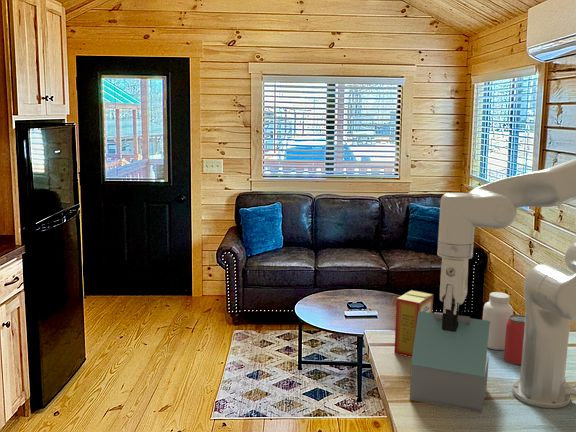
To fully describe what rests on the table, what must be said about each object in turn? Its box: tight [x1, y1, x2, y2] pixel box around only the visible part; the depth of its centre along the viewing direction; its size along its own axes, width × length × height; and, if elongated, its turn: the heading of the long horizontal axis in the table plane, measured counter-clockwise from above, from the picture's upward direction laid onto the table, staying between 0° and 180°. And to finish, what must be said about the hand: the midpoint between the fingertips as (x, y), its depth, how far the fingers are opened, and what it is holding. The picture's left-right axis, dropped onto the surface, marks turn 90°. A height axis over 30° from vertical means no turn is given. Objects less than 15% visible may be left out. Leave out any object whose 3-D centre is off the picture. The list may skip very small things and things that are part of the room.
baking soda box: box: [394, 289, 434, 358], centre depth 167 cm, size 10×6×16 cm
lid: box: [410, 311, 490, 377], centre depth 136 cm, size 16×12×5 cm
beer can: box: [503, 314, 525, 366], centre depth 161 cm, size 7×7×12 cm
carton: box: [409, 355, 490, 414], centre depth 142 cm, size 16×12×9 cm
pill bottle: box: [482, 291, 514, 351], centre depth 171 cm, size 8×8×15 cm
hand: (449, 328), depth 136 cm, fingers closed
